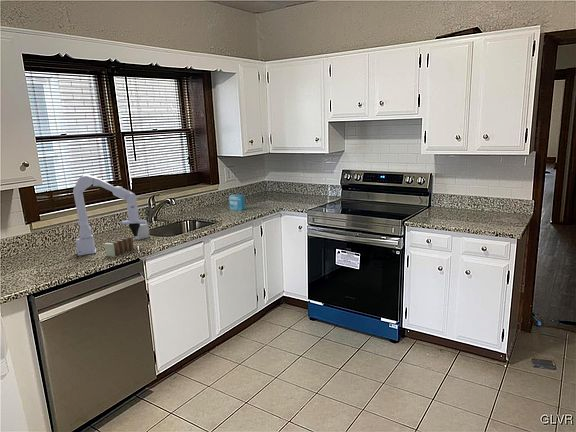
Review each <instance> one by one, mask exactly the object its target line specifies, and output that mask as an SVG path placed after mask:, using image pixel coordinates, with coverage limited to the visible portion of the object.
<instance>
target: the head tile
mask: <svg viewBox="0 0 576 432" xmlns="http://www.w3.org/2000/svg"><path fill="white" fill-rule="evenodd" d="M133 237H134V236H127V235H126V236H123V238H128V242H129V250H134V249H135V246H134V240H133V239H134V238H133Z"/></svg>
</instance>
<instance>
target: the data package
mask: <svg viewBox="0 0 576 432" xmlns="http://www.w3.org/2000/svg"><path fill="white" fill-rule="evenodd" d="M228 203H229V210H230V211H244V210H245V209H246V204H245V195H244V194H231V195H229V196H228Z"/></svg>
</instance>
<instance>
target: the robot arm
mask: <svg viewBox="0 0 576 432" xmlns="http://www.w3.org/2000/svg"><path fill="white" fill-rule="evenodd" d="M91 186H93V187H101V188H102V189H105V190H106V191H110V192H112V195H113V196H115V197H116V198H119V199H121V200H123V201H126V204H127V205H126V209H127V217H128V218H127V219H128V220H121V225H128V228H129V229H130V230H131V232H132V235H133V237H135V236H138V230H139V227H140V224H148V222H147V220H146V219H145V220H144V219H140V216H139V208H138V207H139V206H138V203H137V201H138V197H137V195H136V194H135V193H134V192H133V191H131V190H127V189H126V188H123V186H122V185H121V186H119V185H117V186H114V185H112V184H110V183H109V182H107V181H105V180H102V179H101V178H99V177H97V176H93V175H90V174H88V173H84V174H82V175H81V176H80V177H79V178H78V179H77V181H76V184H75V185H74V187H73V190H72V192H73V196H74V197H73V198H74V203H75V207H76V212H77V217H78V224H79V225H78V226H79V231H78V234H79V236H78V238H75V243H76V253H77V256H84V255H85V256H86V255H90V254H96V253H97V248H96V245H95V239H94V234H92V230H93V229H92V226H90V223H89V219H88V218H89V217H88V214H87V209H86V203H85V198H84V194H83V193H84V191H85V190H87V189H88V188H89V187H91Z"/></svg>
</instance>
